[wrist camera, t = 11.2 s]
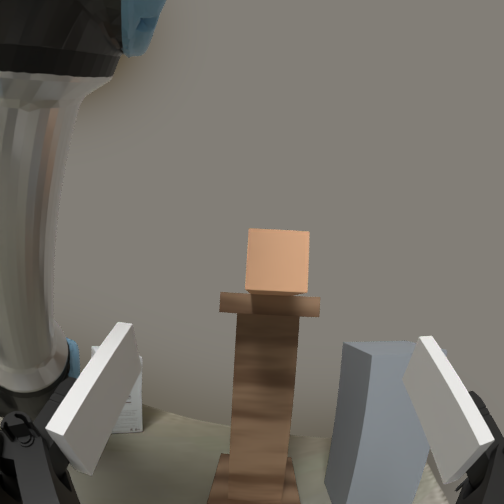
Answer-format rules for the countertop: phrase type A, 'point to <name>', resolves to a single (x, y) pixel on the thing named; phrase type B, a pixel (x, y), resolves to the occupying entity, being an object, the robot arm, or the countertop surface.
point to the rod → (277, 262)
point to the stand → (261, 399)
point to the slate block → (375, 428)
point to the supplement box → (130, 407)
